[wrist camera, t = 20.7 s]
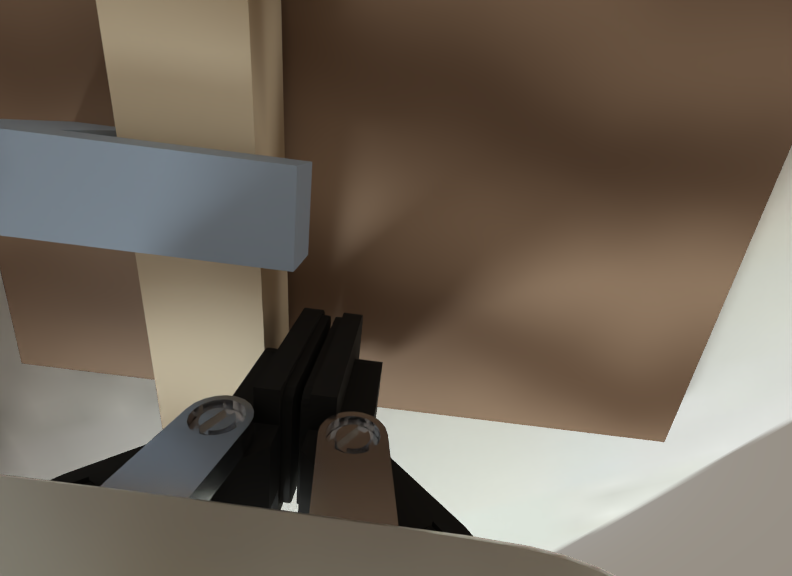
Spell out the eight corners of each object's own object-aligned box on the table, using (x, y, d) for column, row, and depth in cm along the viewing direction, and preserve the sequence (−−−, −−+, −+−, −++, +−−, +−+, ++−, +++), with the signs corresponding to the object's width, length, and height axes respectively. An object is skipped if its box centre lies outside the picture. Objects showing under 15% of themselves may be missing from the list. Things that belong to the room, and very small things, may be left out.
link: (11, -470, 8) (-141, -698, 5) (365, -449, 7) (346, -672, 5) (150, 388, 14) (104, 432, 12) (341, 403, 14) (328, 451, 12)
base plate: (641, 413, 16) (664, 441, 14) (57, 342, 15) (21, 363, 14) (927, -311, 9) (1022, -394, 8) (-93, -448, 9) (-189, -558, 7)
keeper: (332, 226, 12) (293, 272, 8) (84, 195, 12) (-77, 225, 8) (337, 154, 11) (297, 166, 7) (74, 121, 11) (-108, 115, 7)
